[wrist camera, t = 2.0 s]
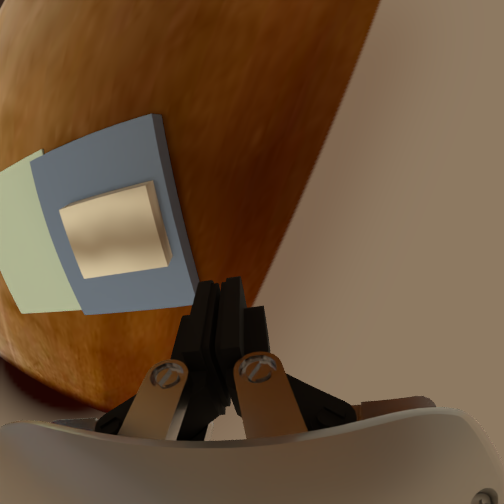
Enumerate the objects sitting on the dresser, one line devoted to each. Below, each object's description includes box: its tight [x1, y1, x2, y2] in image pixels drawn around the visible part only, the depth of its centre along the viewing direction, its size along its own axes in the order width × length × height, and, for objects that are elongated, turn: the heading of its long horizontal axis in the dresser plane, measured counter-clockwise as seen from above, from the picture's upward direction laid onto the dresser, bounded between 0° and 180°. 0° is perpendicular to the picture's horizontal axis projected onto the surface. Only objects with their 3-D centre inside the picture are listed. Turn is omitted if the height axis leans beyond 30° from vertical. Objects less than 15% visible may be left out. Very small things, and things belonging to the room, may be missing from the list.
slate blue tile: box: [30, 114, 199, 315], centre depth 25 cm, size 18×14×3 cm
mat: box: [0, 149, 82, 313], centre depth 26 cm, size 20×16×1 cm
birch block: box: [59, 180, 173, 279], centre depth 22 cm, size 7×9×2 cm
